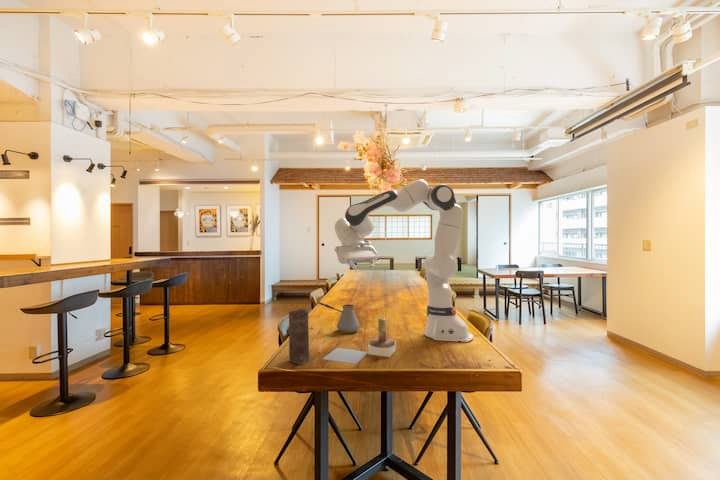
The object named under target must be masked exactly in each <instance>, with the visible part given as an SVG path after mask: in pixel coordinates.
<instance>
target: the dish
mask: <svg viewBox="0 0 720 480" xmlns="http://www.w3.org/2000/svg"><path fill="white" fill-rule="evenodd" d="M396 344H397V342H396V341H395V345H394V346H392V347H386V348H380V347H374V346H372V345H370V343H369V344H368V345H367V352H368V353H367V355H371V356H377V357H385V358H391V356H392V355H393V354H394V353H395V351H396V350H397V348H396V347H397V346H396Z"/></svg>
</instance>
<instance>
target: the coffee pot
mask: <svg viewBox="0 0 720 480" xmlns="http://www.w3.org/2000/svg"><path fill="white" fill-rule="evenodd" d="M318 305H320V306H323V307H326V308H329V309H330V310H335V311H337V312H339V313H341V314H340V316H339V318H338V321H337V323H336V328H337V329H338V331H340V332H341V333H342V334H354V333H356V331H358V330H359V328H360V323H359V320H358V318H357V315H356V313H355V311H354V308H355V305H354V304H351V303H350V304H343V305H341V307H342V310H341V309H338V308H336V307H334V306H331V305H328V304H327V303H326V304H325V303H324V302H320V301H318V302H317V305H316V306H318Z"/></svg>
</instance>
